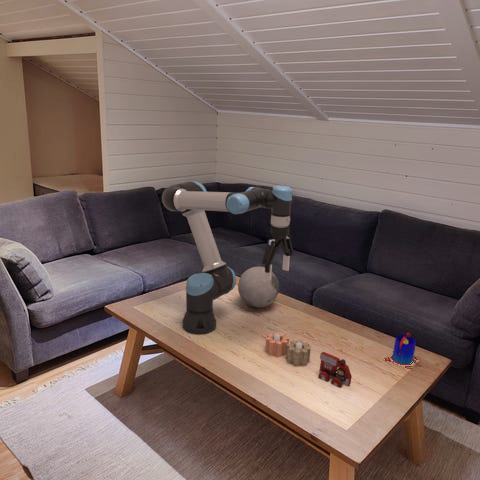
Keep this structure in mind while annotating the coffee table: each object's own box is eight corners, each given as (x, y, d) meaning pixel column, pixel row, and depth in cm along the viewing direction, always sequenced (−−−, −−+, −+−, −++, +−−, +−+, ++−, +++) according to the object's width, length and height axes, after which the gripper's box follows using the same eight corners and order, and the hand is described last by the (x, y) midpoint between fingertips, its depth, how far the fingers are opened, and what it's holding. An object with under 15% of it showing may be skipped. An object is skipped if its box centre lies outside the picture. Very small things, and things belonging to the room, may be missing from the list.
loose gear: (261, 351, 177) (261, 338, 175) (273, 342, 184) (274, 330, 182) (279, 360, 172) (280, 346, 170) (292, 350, 179) (293, 337, 177)
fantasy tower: (410, 372, 169) (415, 345, 165) (381, 360, 177) (385, 333, 173) (422, 360, 177) (427, 334, 174) (394, 349, 185) (398, 323, 181)
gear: (284, 364, 169) (285, 350, 167) (287, 351, 177) (289, 338, 175) (308, 368, 167) (309, 354, 165) (310, 355, 175) (311, 342, 173)
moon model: (252, 318, 206) (254, 279, 200) (229, 302, 222) (230, 264, 216) (286, 309, 216) (288, 271, 210) (262, 293, 232) (264, 258, 226)
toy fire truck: (344, 394, 155) (347, 368, 152) (313, 379, 163) (316, 355, 159) (353, 384, 160) (356, 360, 157) (323, 371, 168) (325, 347, 165)
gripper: (270, 233, 164) (267, 286, 171) (303, 220, 183) (299, 268, 190) (254, 229, 169) (252, 281, 175) (288, 217, 188) (284, 264, 194)
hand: (276, 274), depth 183 cm, fingers open, 13 cm apart
